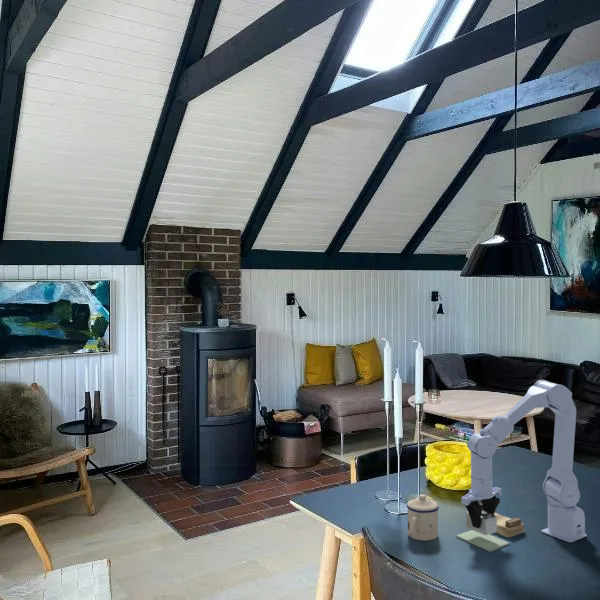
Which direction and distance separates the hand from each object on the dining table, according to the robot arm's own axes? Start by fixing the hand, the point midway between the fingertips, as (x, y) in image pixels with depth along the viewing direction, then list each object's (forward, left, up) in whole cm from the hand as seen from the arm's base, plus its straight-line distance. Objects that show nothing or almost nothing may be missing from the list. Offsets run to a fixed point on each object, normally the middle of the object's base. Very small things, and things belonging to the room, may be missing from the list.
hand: (482, 524), depth 176 cm
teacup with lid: (+12, +12, -5) cm, 18 cm away
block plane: (+4, -11, -4) cm, 13 cm away
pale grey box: (0, 0, -1) cm, 1 cm away
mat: (0, 0, -4) cm, 4 cm away
